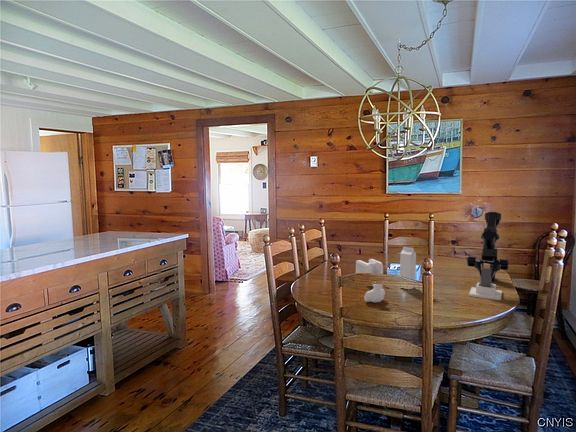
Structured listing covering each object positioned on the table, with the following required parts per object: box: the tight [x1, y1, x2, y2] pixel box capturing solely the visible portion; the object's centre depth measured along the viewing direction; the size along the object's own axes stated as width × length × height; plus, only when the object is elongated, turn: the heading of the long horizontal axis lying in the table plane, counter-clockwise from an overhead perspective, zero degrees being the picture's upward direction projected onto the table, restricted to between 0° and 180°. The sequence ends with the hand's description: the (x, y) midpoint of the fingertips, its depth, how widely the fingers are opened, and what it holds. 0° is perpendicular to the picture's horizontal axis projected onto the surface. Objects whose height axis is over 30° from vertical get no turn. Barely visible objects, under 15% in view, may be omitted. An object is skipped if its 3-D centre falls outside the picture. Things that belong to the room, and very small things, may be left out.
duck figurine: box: [364, 283, 386, 303], centre depth 194 cm, size 12×8×11 cm
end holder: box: [468, 282, 503, 301], centre depth 205 cm, size 14×14×5 cm
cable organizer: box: [355, 258, 384, 275], centre depth 231 cm, size 15×11×12 cm
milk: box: [399, 246, 417, 281], centre depth 216 cm, size 6×6×22 cm
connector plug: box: [480, 263, 492, 287], centre depth 204 cm, size 4×4×13 cm
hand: (486, 277), depth 203 cm, fingers closed on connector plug, 4 cm apart
